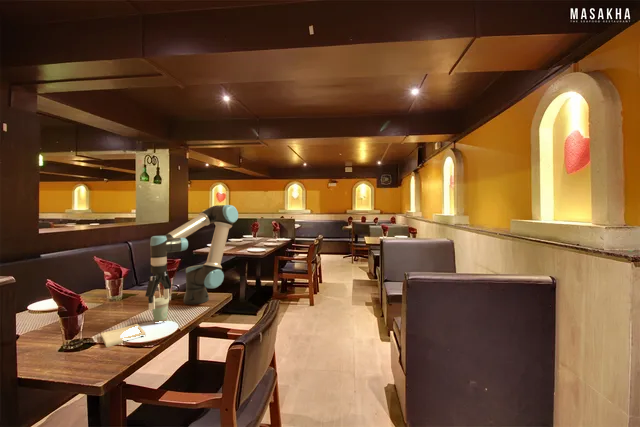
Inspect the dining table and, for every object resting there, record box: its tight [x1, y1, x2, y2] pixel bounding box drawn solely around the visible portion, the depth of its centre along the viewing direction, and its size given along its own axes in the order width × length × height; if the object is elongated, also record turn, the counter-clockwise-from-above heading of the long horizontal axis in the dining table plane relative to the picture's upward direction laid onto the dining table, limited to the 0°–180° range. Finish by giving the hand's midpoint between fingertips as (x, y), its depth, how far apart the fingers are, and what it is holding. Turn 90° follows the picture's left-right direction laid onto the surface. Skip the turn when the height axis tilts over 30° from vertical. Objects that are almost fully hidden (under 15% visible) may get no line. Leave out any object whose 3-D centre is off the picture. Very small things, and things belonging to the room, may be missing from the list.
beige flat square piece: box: [100, 323, 146, 348], centre depth 135 cm, size 15×15×2 cm
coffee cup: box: [151, 296, 170, 323], centre depth 153 cm, size 8×9×12 cm
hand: (159, 304), depth 152 cm, fingers open, 13 cm apart
